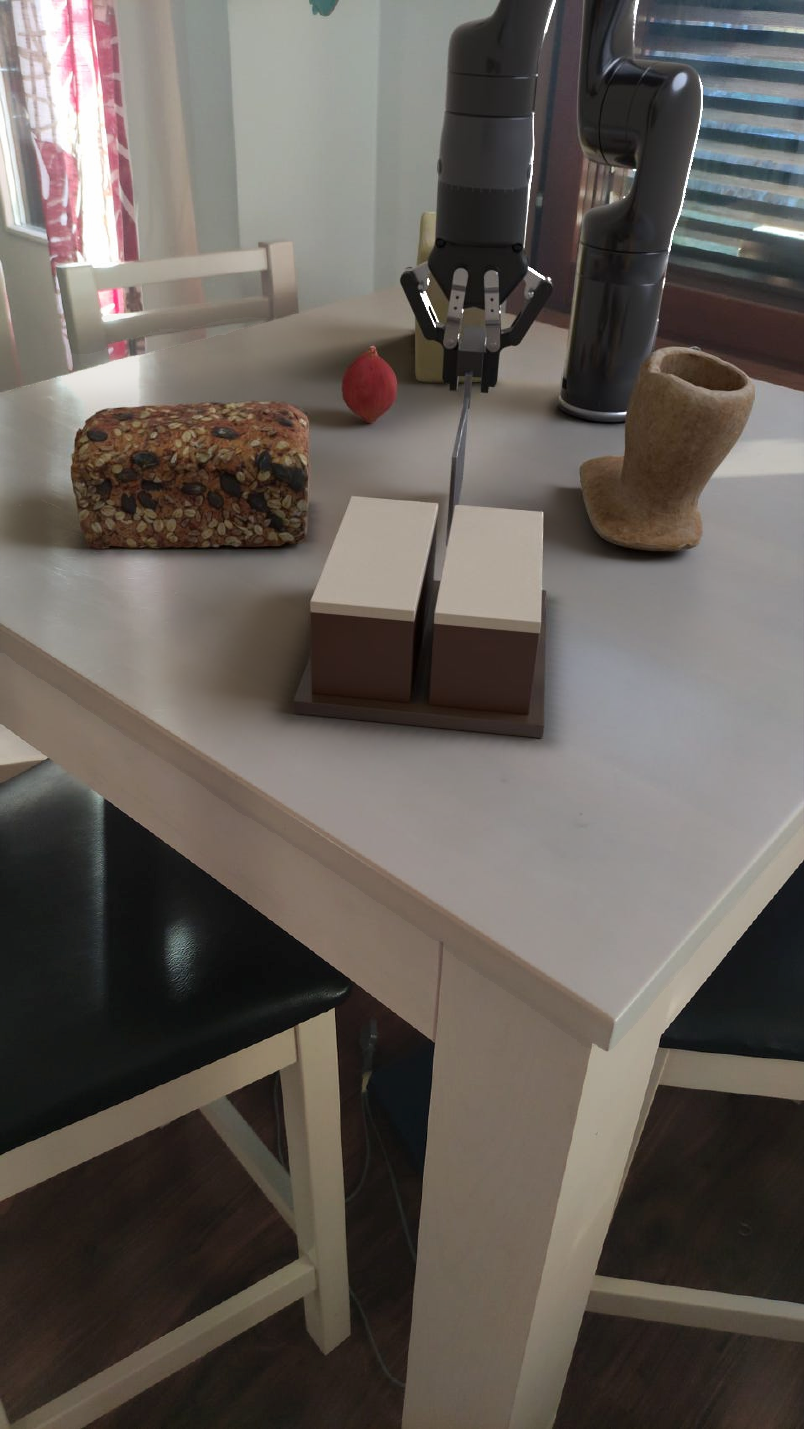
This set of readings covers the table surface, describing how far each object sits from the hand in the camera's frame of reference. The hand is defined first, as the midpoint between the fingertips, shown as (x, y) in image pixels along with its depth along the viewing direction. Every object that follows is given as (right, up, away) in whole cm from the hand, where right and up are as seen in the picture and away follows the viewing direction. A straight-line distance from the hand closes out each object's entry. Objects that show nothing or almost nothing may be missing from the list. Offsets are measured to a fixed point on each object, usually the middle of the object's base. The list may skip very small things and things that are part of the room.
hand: (468, 388), depth 95 cm
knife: (-1, -9, -1) cm, 9 cm away
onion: (-10, +1, +17) cm, 19 cm away
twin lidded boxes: (-4, -25, -21) cm, 33 cm away
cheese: (-1, +15, +37) cm, 40 cm away
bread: (-23, -14, -5) cm, 27 cm away
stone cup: (+16, -13, -2) cm, 20 cm away
